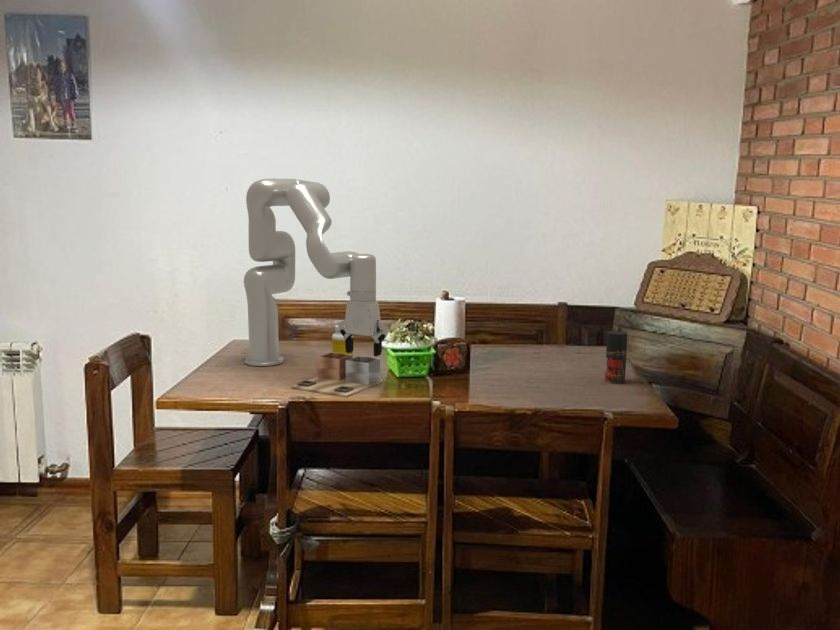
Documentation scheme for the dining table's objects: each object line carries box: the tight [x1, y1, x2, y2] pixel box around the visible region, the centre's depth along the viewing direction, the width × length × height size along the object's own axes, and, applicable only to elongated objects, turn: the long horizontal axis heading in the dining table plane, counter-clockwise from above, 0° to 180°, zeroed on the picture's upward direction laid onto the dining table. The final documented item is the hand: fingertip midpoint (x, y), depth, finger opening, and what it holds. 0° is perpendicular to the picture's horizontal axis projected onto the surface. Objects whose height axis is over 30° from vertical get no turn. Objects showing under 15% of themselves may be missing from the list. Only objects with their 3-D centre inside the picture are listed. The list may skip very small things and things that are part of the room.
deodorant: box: [604, 330, 628, 385], centre depth 245 cm, size 6×6×15 cm
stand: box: [290, 351, 384, 396], centre depth 238 cm, size 19×20×7 cm
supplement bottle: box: [331, 324, 354, 355], centre depth 263 cm, size 7×7×13 cm
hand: (363, 353), depth 240 cm, fingers open, 9 cm apart
